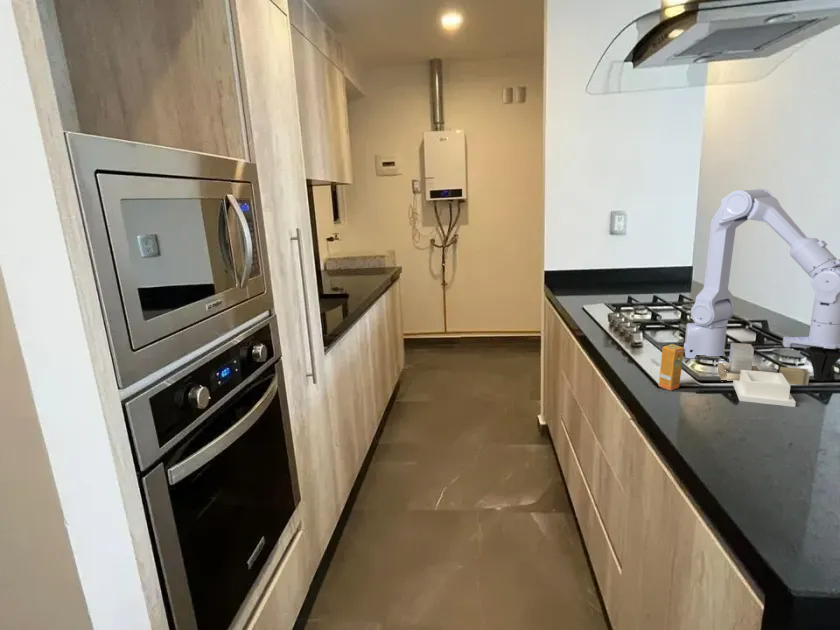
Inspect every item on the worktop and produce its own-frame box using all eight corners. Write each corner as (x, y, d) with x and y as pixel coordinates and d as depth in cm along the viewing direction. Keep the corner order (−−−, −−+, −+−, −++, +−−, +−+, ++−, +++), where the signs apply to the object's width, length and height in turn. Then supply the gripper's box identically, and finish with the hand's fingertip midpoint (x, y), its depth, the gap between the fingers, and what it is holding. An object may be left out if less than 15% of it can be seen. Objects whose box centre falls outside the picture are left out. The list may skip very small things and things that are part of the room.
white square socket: (739, 401, 102) (741, 383, 101) (732, 384, 111) (734, 367, 110) (795, 407, 98) (797, 388, 97) (783, 389, 107) (786, 372, 106)
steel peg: (729, 379, 114) (733, 347, 112) (727, 374, 117) (730, 342, 115) (750, 381, 112) (754, 349, 110) (747, 375, 115) (750, 344, 113)
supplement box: (671, 391, 109) (674, 349, 107) (658, 386, 112) (661, 345, 110) (681, 388, 110) (684, 346, 108) (667, 383, 113) (670, 343, 111)
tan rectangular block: (780, 382, 110) (782, 370, 109) (778, 378, 112) (780, 366, 111) (807, 385, 108) (809, 372, 107) (804, 381, 110) (806, 369, 109)
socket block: (721, 381, 113) (721, 373, 112) (717, 370, 120) (717, 362, 119) (762, 385, 109) (763, 377, 109) (755, 373, 116) (756, 365, 116)
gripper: (791, 323, 104) (783, 382, 107) (879, 328, 98) (867, 390, 101) (783, 315, 110) (776, 371, 113) (865, 319, 104) (855, 378, 107)
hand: (818, 379), depth 108 cm, fingers closed
